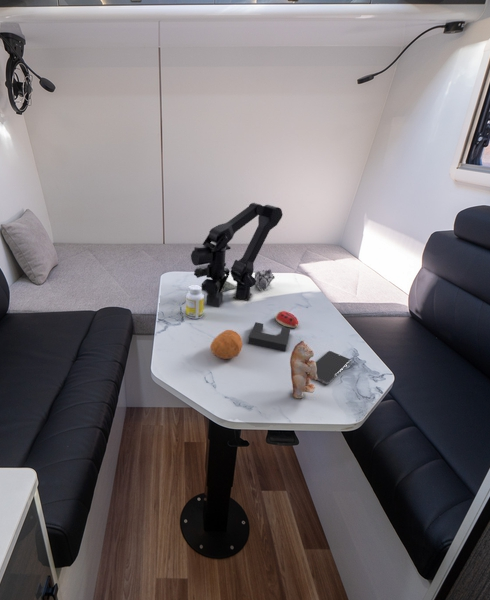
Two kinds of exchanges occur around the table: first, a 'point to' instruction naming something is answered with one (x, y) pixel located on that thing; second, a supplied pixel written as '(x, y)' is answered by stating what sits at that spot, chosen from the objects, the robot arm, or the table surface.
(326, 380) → the smartphone
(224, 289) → the eiffel tower figurine
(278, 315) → the ladybug figurine
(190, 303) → the pill bottle
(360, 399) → the table surface
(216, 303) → the black block
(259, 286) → the mineral specimen
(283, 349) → the notched pad
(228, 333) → the potato
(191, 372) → the table surface
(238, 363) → the table surface
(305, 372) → the figurine
